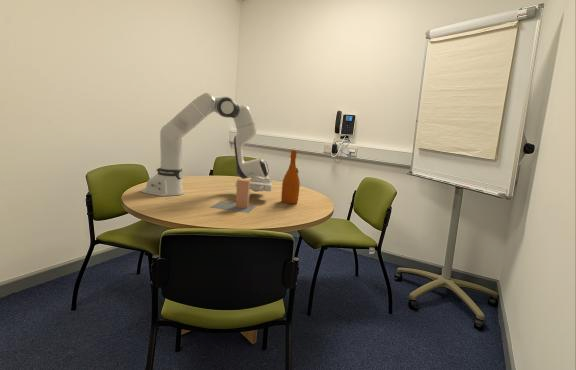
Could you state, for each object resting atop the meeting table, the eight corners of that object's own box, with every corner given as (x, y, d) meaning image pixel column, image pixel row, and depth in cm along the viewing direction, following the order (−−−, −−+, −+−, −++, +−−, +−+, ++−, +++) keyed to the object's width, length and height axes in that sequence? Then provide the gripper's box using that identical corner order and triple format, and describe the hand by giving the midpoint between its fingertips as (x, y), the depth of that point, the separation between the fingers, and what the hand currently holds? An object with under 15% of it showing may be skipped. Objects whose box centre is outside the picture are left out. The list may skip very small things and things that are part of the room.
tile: (235, 206, 179) (237, 179, 177) (237, 205, 182) (238, 179, 179) (246, 208, 178) (248, 181, 176) (248, 207, 181) (250, 180, 178)
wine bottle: (296, 205, 196) (301, 151, 190) (279, 203, 198) (283, 149, 192) (299, 201, 205) (304, 150, 200) (282, 199, 207) (287, 148, 201)
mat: (209, 208, 174) (209, 207, 174) (220, 202, 189) (220, 200, 189) (248, 214, 171) (248, 212, 171) (256, 206, 185) (256, 205, 185)
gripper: (240, 176, 205) (232, 180, 191) (274, 180, 201) (268, 184, 188) (239, 186, 206) (231, 191, 193) (273, 191, 203) (267, 195, 189)
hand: (250, 188), depth 190 cm, fingers open, 8 cm apart
